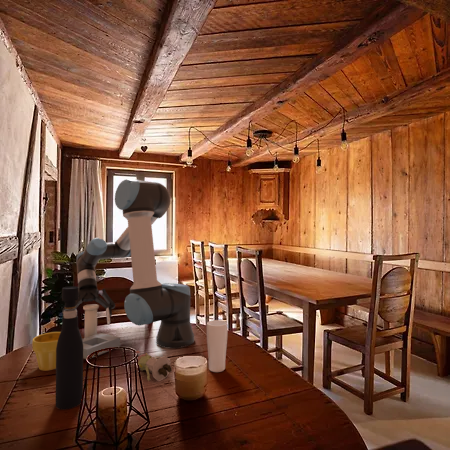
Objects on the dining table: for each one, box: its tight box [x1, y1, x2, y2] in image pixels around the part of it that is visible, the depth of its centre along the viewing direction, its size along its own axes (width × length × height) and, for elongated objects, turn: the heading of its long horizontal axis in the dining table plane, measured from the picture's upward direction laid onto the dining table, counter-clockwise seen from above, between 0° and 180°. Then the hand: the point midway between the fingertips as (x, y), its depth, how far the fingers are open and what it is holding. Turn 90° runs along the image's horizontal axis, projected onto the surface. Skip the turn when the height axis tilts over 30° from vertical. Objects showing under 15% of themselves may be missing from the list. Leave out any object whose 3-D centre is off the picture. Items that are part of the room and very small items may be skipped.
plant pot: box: [31, 331, 61, 372], centre depth 106 cm, size 10×10×10 cm
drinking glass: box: [206, 319, 228, 373], centre depth 105 cm, size 7×7×15 cm
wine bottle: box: [55, 285, 84, 411], centre depth 84 cm, size 6×6×30 cm
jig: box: [82, 332, 121, 360], centre depth 121 cm, size 11×15×4 cm
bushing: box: [82, 303, 100, 338], centre depth 131 cm, size 6×6×14 cm
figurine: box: [135, 350, 172, 382], centre depth 101 cm, size 9×7×15 cm
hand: (91, 325), depth 130 cm, fingers open, 13 cm apart
